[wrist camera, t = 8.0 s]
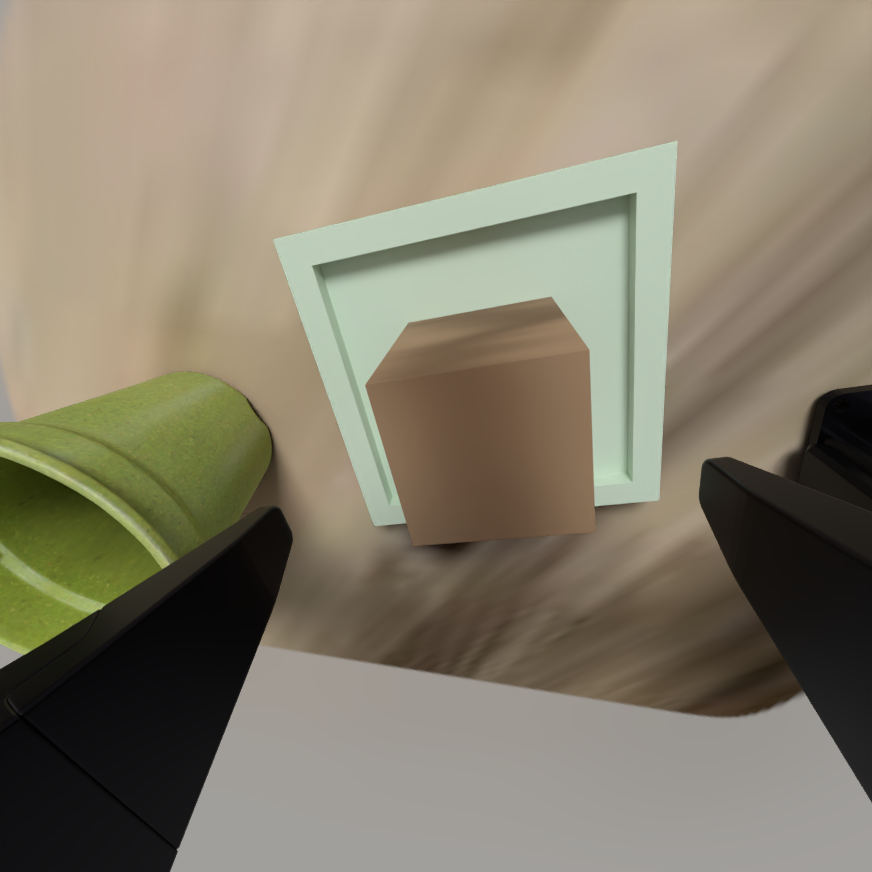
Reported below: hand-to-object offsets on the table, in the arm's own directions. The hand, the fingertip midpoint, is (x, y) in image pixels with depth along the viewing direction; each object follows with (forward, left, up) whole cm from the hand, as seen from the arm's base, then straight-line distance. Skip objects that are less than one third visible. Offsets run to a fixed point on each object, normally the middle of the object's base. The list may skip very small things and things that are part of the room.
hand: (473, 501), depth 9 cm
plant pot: (+13, +1, -9) cm, 15 cm away
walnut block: (0, 0, -8) cm, 8 cm away
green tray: (0, 0, -8) cm, 8 cm away
